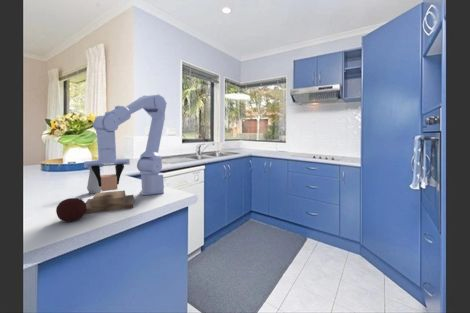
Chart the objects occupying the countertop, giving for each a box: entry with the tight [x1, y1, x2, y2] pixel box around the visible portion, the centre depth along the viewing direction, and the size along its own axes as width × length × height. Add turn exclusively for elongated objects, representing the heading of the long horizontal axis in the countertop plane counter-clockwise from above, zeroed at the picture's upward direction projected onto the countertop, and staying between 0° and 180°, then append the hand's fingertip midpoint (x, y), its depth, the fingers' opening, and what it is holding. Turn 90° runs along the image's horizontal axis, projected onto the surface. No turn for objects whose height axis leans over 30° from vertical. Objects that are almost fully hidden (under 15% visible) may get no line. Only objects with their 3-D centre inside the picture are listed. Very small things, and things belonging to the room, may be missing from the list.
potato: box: [55, 197, 86, 222], centre depth 69 cm, size 7×8×7 cm
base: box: [84, 190, 135, 215], centre depth 84 cm, size 16×13×4 cm
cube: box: [100, 173, 118, 192], centre depth 83 cm, size 5×5×5 cm
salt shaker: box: [86, 167, 102, 195], centre depth 100 cm, size 6×6×13 cm
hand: (108, 185), depth 83 cm, fingers closed on cube, 5 cm apart
